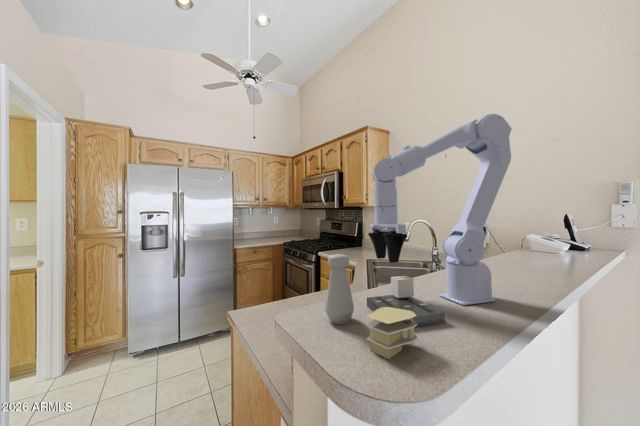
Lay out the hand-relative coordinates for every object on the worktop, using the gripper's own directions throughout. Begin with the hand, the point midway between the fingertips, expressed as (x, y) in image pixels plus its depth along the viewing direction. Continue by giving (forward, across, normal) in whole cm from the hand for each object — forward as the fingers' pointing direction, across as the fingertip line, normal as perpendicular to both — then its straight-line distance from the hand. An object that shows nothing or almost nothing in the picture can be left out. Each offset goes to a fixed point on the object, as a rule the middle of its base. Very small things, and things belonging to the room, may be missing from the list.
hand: (387, 260), depth 64 cm
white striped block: (+7, +6, 0) cm, 10 cm away
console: (+9, +11, -3) cm, 15 cm away
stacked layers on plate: (+10, +22, -12) cm, 27 cm away
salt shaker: (+10, +10, -16) cm, 22 cm away
